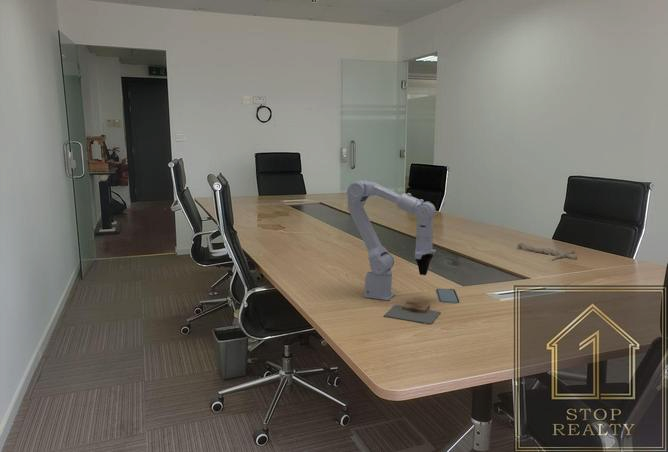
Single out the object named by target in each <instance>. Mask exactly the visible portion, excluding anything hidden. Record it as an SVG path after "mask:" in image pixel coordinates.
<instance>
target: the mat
mask: <svg viewBox="0 0 668 452" xmlns="http://www.w3.org/2000/svg"><path fill="white" fill-rule="evenodd" d="M402 306H403V305H400V304H395V305H393V306H391V308H390V309H389V310H388V311H387V312H385V314H384V315H383V317H384V318H390V319H395V320H401V321H406V320H407V322H412V321H413V323H417V324H418V323H419V324H424V323H425V324H424V325H430V324H432V325H433V323H434V322H435V321H436V320H435V319H437V318H438V317H439V316H440V314H441V313H442V312H441V311H438V310H432V309H429V311H428V312H427V313H426V314H425V315H424V314H418V313H412V312H406V311H402ZM438 315H439V316H438ZM434 320H435V321H434Z"/></svg>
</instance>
